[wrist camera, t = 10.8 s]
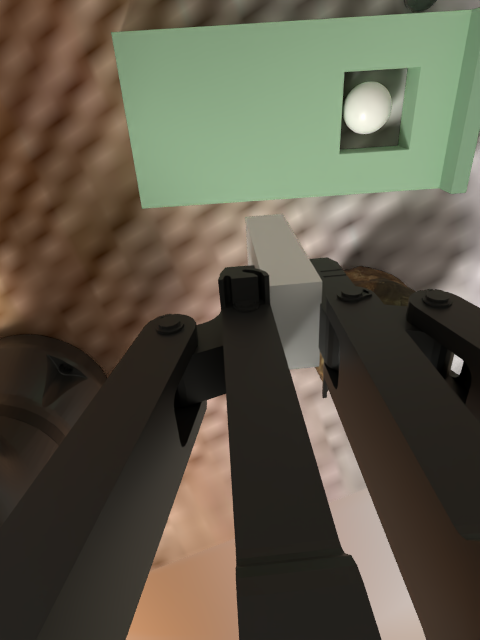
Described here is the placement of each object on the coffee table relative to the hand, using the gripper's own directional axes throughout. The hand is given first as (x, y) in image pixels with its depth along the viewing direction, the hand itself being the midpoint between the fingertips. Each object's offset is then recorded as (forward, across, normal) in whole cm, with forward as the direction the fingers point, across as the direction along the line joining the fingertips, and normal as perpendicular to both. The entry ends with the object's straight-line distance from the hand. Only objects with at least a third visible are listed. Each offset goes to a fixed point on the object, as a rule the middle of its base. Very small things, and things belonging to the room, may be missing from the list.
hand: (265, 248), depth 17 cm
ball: (+19, +10, +4) cm, 22 cm away
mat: (+21, +5, +4) cm, 21 cm away
